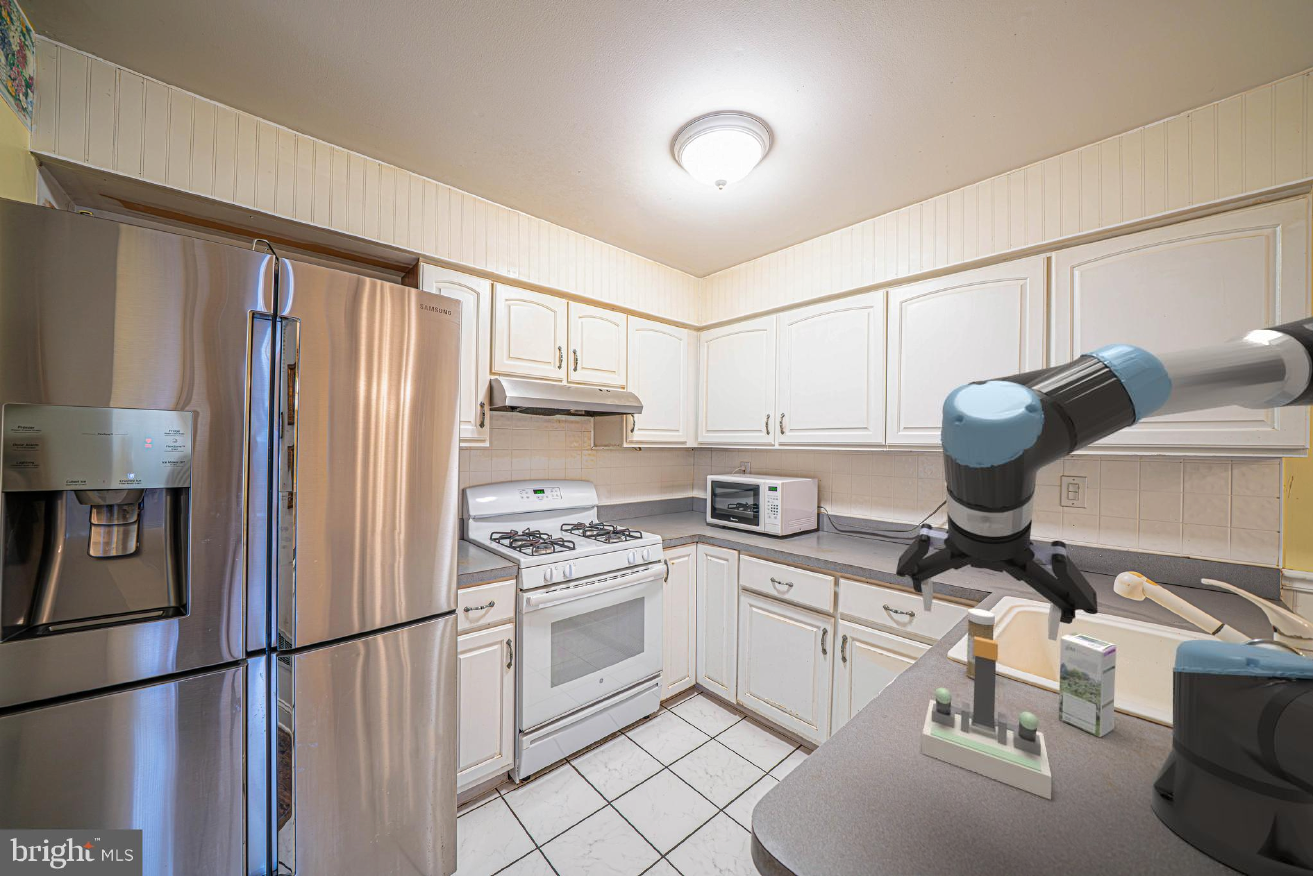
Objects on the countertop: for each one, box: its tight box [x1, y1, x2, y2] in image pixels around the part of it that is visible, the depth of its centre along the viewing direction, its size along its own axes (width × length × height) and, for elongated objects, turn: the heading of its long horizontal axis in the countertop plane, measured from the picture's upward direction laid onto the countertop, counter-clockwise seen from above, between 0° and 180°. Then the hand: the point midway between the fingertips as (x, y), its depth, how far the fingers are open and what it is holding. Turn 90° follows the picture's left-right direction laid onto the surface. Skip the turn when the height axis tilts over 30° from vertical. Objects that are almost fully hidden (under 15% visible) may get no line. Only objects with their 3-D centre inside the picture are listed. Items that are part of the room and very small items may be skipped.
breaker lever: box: [971, 636, 999, 733], centre depth 72 cm, size 3×2×13 cm
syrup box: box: [1058, 632, 1117, 738], centre depth 80 cm, size 6×6×14 cm
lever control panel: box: [921, 687, 1053, 801], centre depth 72 cm, size 15×12×9 cm
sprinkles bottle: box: [965, 608, 996, 680], centre depth 96 cm, size 5×5×13 cm
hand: (986, 615), depth 63 cm, fingers open, 13 cm apart
